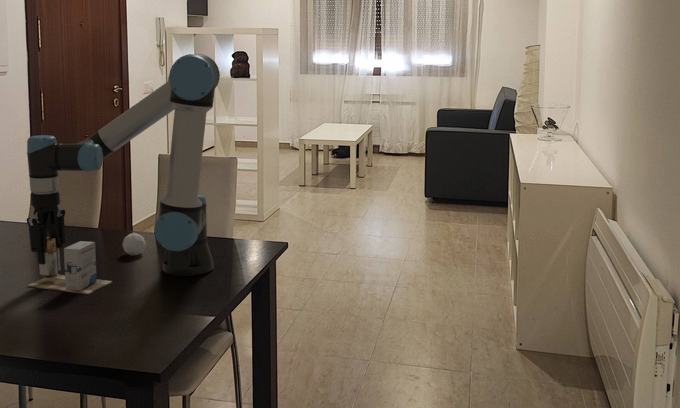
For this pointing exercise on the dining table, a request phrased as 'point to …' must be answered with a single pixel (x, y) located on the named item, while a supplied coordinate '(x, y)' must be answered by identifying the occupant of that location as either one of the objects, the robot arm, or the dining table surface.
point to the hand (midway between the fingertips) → (50, 271)
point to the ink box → (80, 265)
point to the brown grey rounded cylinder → (51, 257)
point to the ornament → (134, 244)
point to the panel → (59, 285)
